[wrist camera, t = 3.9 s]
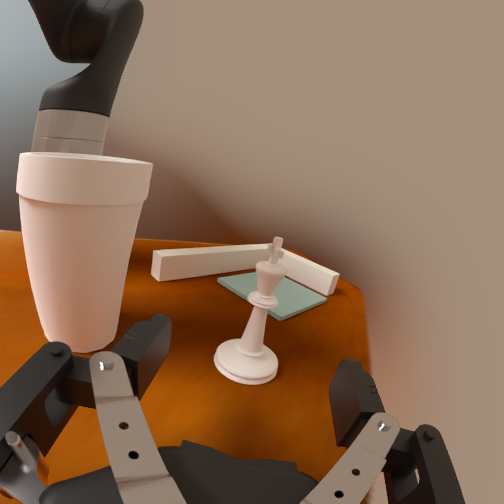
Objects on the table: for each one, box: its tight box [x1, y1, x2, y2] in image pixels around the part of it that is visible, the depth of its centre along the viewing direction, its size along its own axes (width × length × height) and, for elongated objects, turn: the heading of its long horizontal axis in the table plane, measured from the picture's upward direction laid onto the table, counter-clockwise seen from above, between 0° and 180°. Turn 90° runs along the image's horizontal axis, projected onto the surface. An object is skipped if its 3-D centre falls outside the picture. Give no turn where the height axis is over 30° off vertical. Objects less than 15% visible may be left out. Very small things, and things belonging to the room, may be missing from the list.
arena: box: [151, 244, 340, 321], centre depth 35 cm, size 14×21×3 cm, turn 137°
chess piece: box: [214, 237, 286, 385], centre depth 19 cm, size 5×5×10 cm
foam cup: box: [16, 152, 153, 353], centre depth 17 cm, size 10×9×13 cm
